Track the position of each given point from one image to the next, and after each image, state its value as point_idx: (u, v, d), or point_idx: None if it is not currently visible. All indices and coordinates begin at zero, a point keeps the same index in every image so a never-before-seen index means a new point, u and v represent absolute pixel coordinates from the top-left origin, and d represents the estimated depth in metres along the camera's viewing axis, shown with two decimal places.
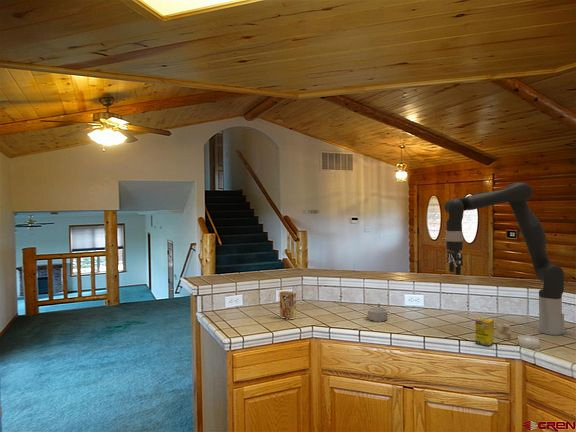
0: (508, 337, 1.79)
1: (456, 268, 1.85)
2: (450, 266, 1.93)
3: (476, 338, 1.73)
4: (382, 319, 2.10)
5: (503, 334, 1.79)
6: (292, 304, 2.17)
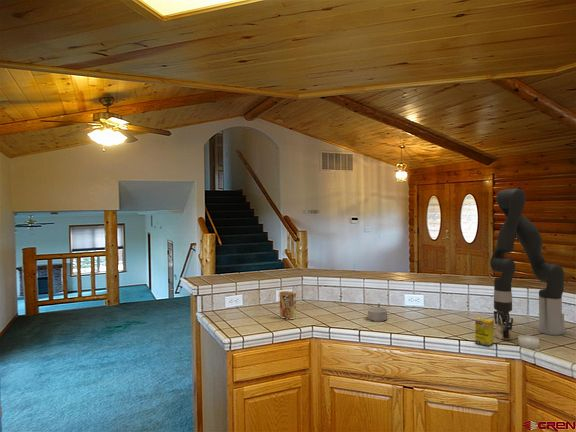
0: None
1: (504, 331, 1.78)
2: None
3: (476, 338, 1.73)
4: (382, 319, 2.10)
5: None
6: (292, 304, 2.17)
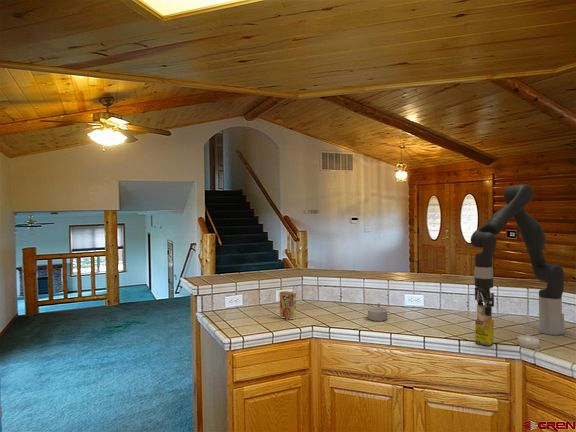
0: (489, 318, 1.71)
1: (486, 308, 1.69)
2: None
3: (476, 338, 1.73)
4: (382, 319, 2.11)
5: (484, 315, 1.71)
6: (292, 304, 2.17)
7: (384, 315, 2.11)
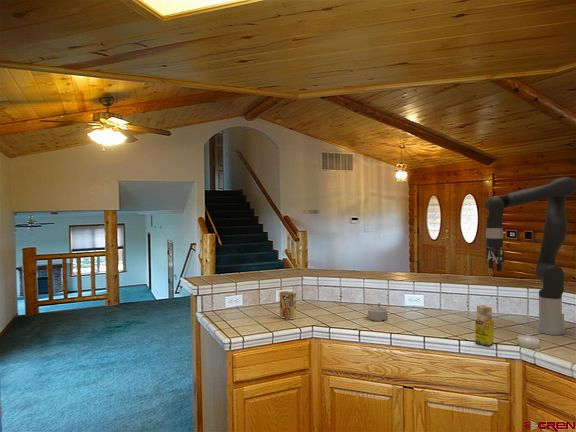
0: (489, 318, 1.71)
1: (497, 265, 1.88)
2: (489, 263, 1.96)
3: (476, 338, 1.73)
4: (382, 319, 2.11)
5: (484, 315, 1.71)
6: (292, 304, 2.17)
7: (384, 315, 2.11)
